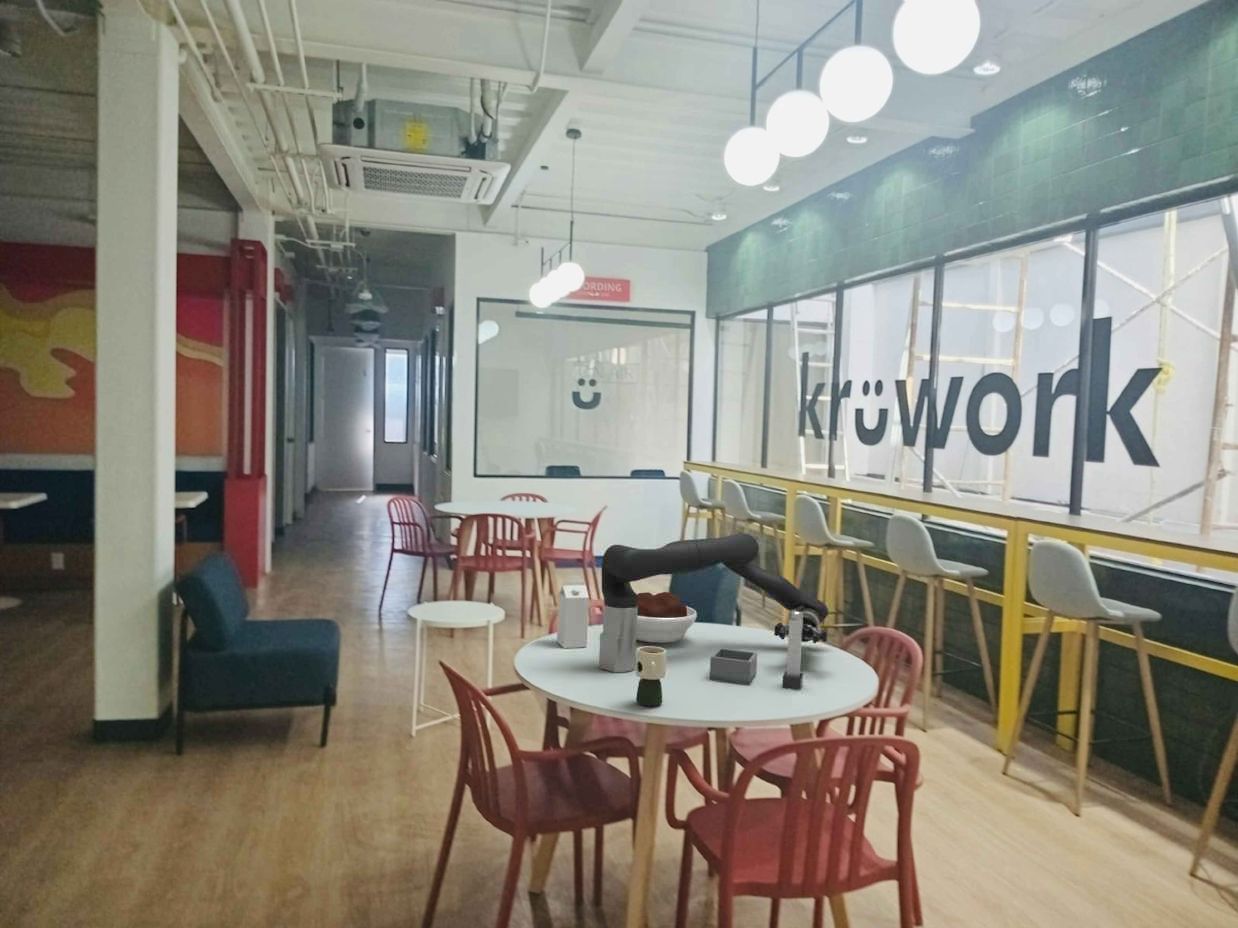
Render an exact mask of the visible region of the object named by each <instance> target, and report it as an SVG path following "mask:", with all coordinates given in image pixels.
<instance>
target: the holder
mask: <svg viewBox="0 0 1238 928" xmlns="http://www.w3.org/2000/svg"><path fill="white" fill-rule="evenodd" d="M709 665H710V666H709V680H711V681H718V682H724V683H731V684H739V685H746V686H747V685H749V686H750V685H751V684H752V682H753V680H754V679H755V678H756V676H757V669H758V652H754V651H745V650H737V649H732V648H731V649H729V648H723V647H719V648H718V649H717V650H715V652H713V653H712V655H711V656H710V664H709Z"/></svg>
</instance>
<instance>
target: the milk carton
mask: <svg viewBox="0 0 1238 928" xmlns="http://www.w3.org/2000/svg"><path fill="white" fill-rule="evenodd" d="M589 603H590V596H589V592H588V588H587V583H586V581H562V586H561V588H560V590H559V593H558V605H557V606H558V611H557V612H558V613H557V629H556V630H557V635H556V643H558V645H560V646H561V647H562V648H564V649H574V648H577V649H578V648H587V645H588V627H589V626H588V625H589V624H588V623H589V622H588V621H589V605H590V604H589Z"/></svg>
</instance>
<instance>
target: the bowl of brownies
mask: <svg viewBox="0 0 1238 928" xmlns="http://www.w3.org/2000/svg"><path fill="white" fill-rule="evenodd" d="M636 594H637V596H638V615H637V636H636V641H637V640H638V641H641V642H647V643H651V644H664V643H673V642H674V643H675V642H677V641H680V640H682V639H683V638H684V637H685V635H686V633H687V631H688V629H689V628H690V627H692V625H694V622H695V621H696V619H697V617H698V613H697V611H696V610H695V609H694V608H692V607H689V606H687V605H684V604H682V602H680V599H679V597H678V596H677V595H675V594H671V593H670V592H668V591H662V592H658V593H656V594H654V595H653V594H652V592H639V593H636Z"/></svg>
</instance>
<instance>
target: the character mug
mask: <svg viewBox="0 0 1238 928" xmlns="http://www.w3.org/2000/svg"><path fill="white" fill-rule="evenodd" d="M666 668H667V650H666V649H665V648H663V647H660V646H654V645H653V646H652V645H650V646H649V645H648V646H647V645H646V646H645V645H644V646H639V647H636V657H635V676H637V677H638V678H640V679H639V681H638V685H637V690H636V691H637V692H636V698H635V700H636V703H637V704H639V705H642V706H643V705H644V706H645V705H646V706H649V707H651V706H652V705H660V704H662V703H663V689H662V682H661V679H664V678H665V676H666Z"/></svg>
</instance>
